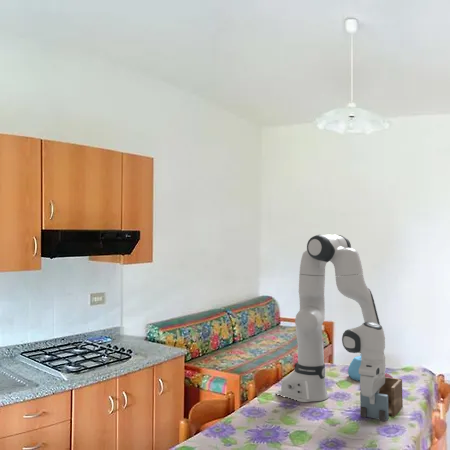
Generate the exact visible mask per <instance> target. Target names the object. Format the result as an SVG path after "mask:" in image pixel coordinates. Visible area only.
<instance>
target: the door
mask: <svg viewBox="0 0 450 450" xmlns="http://www.w3.org/2000/svg"><path fill="white" fill-rule="evenodd" d="M374 397H375V404H370V399H369V397H366V396H363V395H362V393H361V391H360V392H359V399H360V401H359V403H360V408H361V407H365V408H367V417H368V418H371V419H372V418H373V419H379V410H382V411H385V421H388V420H389V418H390V417H389V416H390V415H389V412H388V395H386V394H379V393H375V395H374ZM367 417H366V418H367Z"/></svg>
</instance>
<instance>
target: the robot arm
mask: <svg viewBox="0 0 450 450" xmlns="http://www.w3.org/2000/svg"><path fill="white" fill-rule="evenodd" d="M329 262H330V263H332V265H333V268H334V273H335V275H334V276H335V284H336V288H337V291H338V292H339V293H340V294H341V295H342V296H344V297H346V298H348V299H351V300H353V301H355V302H356V303H357V305H359V307H360V310H361V313H362V314H361V315H362V318H363V323H362V324H361V325H358V326H357V327H352V328H349V329H346V330H345V331H343V333H342V337H341V342H342V343H341V344H342V346H343V348H344V349H345V350H346V351H347V352H348V353H352V354H357V353H359V354H361V355H362V356H361V355H360V356H361V365H360V368H359V374H361V376H360V381H359V382H360V386H361V391H360V392H361V393H362V395H363V396H366V397H369V399H370V404H375V397H374V395H375V393H379V391H380V388H381V387H382V386H383V385H384V384H385V373H386V355H385V350H386V349H385V348H386V337H385V331H384V328H383V326H382V325H381V322H380V319H379V315H378V311H377V307H376V303H375V300H374V295H373V293H372V291H371V289H370V288H369V287H368V286H367V283H366V281H365V277H364V271H363V266H362V265H363V264H362V260H361V257H360V255H359V252H358V251H357V250H356V249H354V248H352V246H351V242H350V240H349V239H348V238H347V237H345V236H343V235H341V234H334V233H333V234H330V233H329V234H328V233H327V234H317V235H314V236H312V237H310V239H308V241H307V244H306V250H304V251H303V253H302V256H301V259H300V264H299V274H298V275H299V279H298V280H299V281H298V296H299V299H298V300H299V311H297V313H296V314H295V318H294V324H295V334H296V335H295V336H296V339H297V340H296V342H297V361H296V362H294V364H293V365H292V368H293V369H294V370H293V371H292V372H291V373H289V374H288V375H287V376H285V377H284V378H283V379H282V381H281V386H280V388H278V389H277V390H276V392H275V394H276V393H277V394H279V395H282V396H285V397H288V398H287V399H289V398H291V399H290V400H292V399H294V400H293V401H296V400H297V402H300V403H309V402H322V401H324V400H327V399H328V398H329V394H328V391H327V386H326V379H325V378H326V364H325V356H324V353H325V351H324V347H325V346H324V340H323V331H322V330H323V329H322V328H323V324H324V322H325V318H326V317H325V313H326V311H325V310H326V309H325V303H326V302H325V284H326V267H327V263H329ZM285 397H284V398H285Z"/></svg>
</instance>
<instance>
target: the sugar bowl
mask: <svg viewBox="0 0 450 450" xmlns="http://www.w3.org/2000/svg"><path fill="white" fill-rule="evenodd" d="M359 354H360V355H359V356H357V355H356V356H355V357H354V358H353V359H352V360H351V362H350V364H349V365H348V369H347V370H348V371H347V374H348V375H349V377H350V379H352V380H354V381H357V382H360V376H361V374H359V368H360V365H361V356H362V355H361V353H359Z"/></svg>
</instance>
